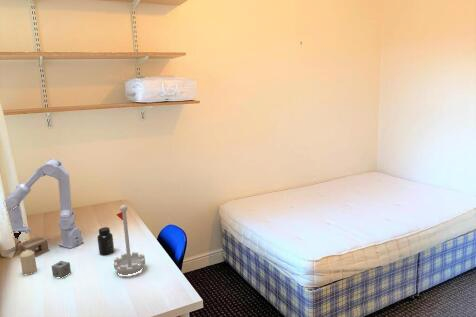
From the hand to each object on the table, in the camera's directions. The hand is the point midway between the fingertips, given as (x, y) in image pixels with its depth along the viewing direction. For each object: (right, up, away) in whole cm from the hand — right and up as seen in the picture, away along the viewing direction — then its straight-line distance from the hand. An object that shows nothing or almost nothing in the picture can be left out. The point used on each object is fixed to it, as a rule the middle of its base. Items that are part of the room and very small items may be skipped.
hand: (20, 244), depth 186 cm
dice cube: (+33, -7, -25) cm, 42 cm away
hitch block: (+10, -3, -5) cm, 11 cm away
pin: (+7, -2, -3) cm, 8 cm away
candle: (+17, -7, -22) cm, 29 cm away
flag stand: (+62, -6, -24) cm, 66 cm away
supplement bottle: (+45, -2, -6) cm, 46 cm away
